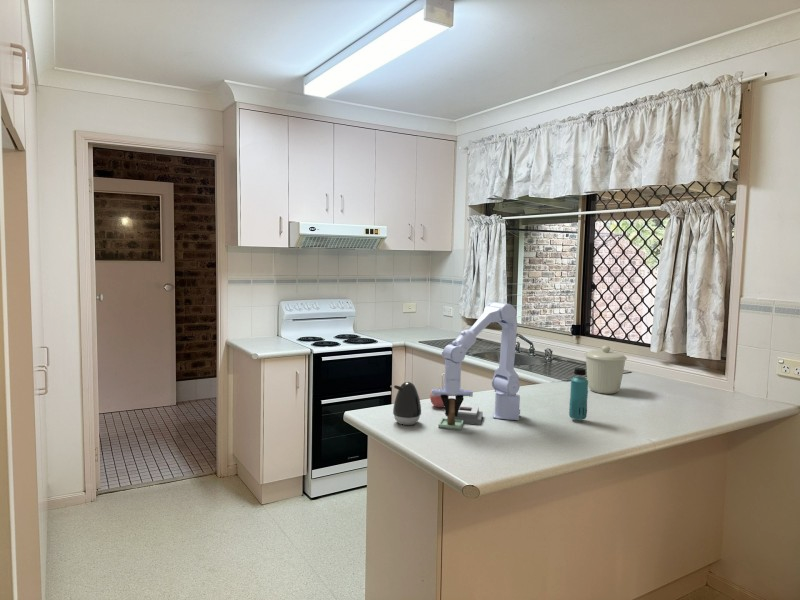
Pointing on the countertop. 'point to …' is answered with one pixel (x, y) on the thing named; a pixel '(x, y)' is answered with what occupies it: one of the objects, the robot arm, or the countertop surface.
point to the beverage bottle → (578, 395)
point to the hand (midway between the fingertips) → (451, 415)
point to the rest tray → (457, 425)
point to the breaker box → (469, 414)
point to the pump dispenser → (407, 404)
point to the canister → (604, 370)
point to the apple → (437, 400)
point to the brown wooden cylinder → (451, 411)
